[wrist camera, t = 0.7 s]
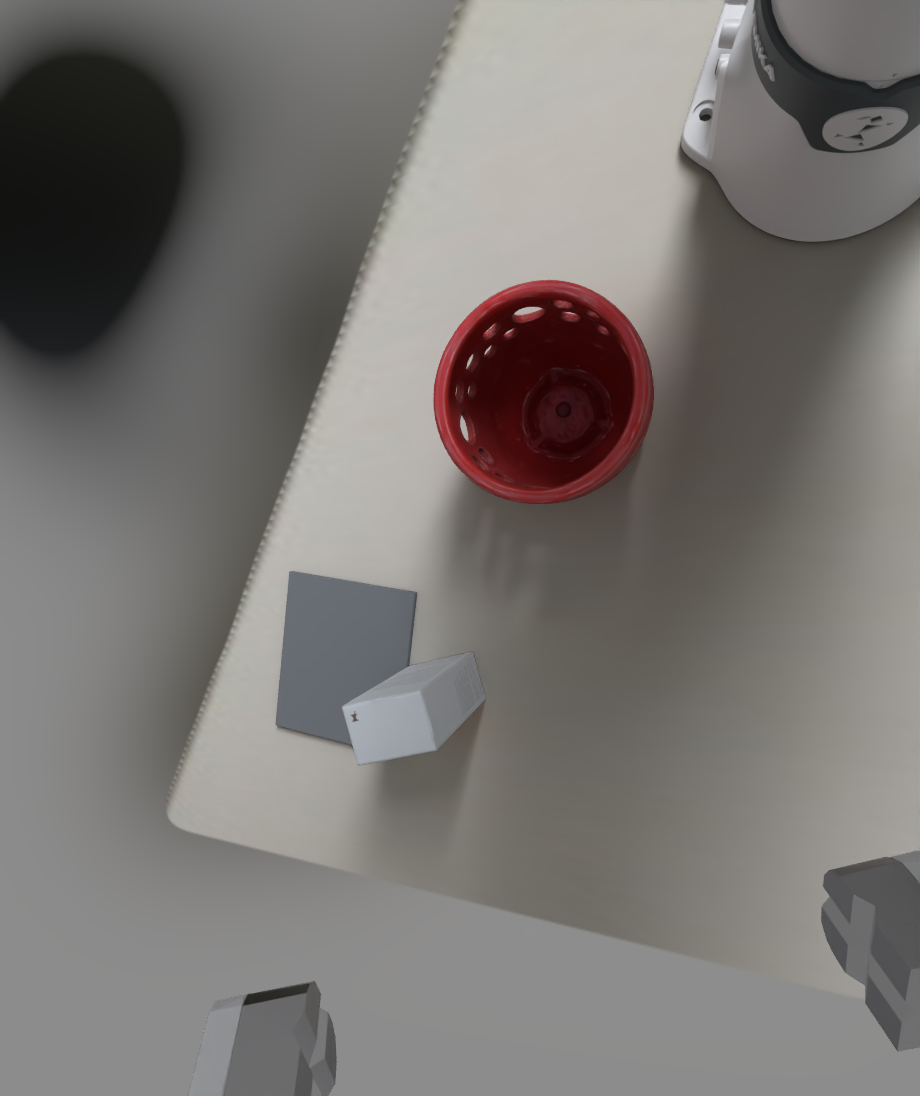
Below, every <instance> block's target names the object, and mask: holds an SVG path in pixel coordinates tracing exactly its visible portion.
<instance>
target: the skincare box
mask: <svg viewBox="0 0 920 1096" xmlns="http://www.w3.org/2000/svg"><path fill="white" fill-rule="evenodd" d="M484 701H485V694H484V691H483V688H482V684H481V680H480V677H479V673H478V669H477V665H476V662H475V658H474V654H473V652H468V653H464V654H460V655H455V656H451V657H447V658H442V659H438V660H433V661H429V662H425V663H420V664H416V665H412V666H408V667H407V668H405V669H403V670H402V671H400V672H398V673H397V674H395V675H393V676H392V677H390V678H388V679H387V680H385V681H383V682H382V683H380V684H378V685H377V686H375V687H373V688H371V689H370V690H368V691H367V692H365V693H363V694H362V695H360V696H358V697H356V698H354V699H353V700H351V701H350V702H348V703H347V704H345V705H343V706H342V710H343V713H344V717H345V720H346V724H347V727H348V731H349V734H350V738H351V742H352V746H353V750H354V753H355V757H356V760H357V763H358V765H366V764H371V763H377V762H383V761H388V760H393V759H397V758H402V757H407V756H412V755H417V754H423V753H428V752H433V751H437V750H438V749H439V748H440V747H441V746H442V745H443V743H444V742H445V741H446V740H447V739H448V738H449V737H450V736H451V735H452V734H453V733H454V732H455V731H456V730H457V729H458V728H459V727H460V726H461V725H462V724H463V723H464V722H465V721H466V720H467V719H468V718H469V717H470V716H471V715H472V714H473V712H474V711H475V710H476V709H477V708H478V707H479V706H480V705H481V704H482V703H483V702H484Z"/></svg>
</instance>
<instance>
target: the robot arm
mask: <svg viewBox="0 0 920 1096" xmlns="http://www.w3.org/2000/svg"><path fill="white" fill-rule="evenodd" d="M705 114H708V115H710V116H711V118H710V119H709V120H708V121H701V120H700V117H701V116H703V115H705ZM681 146H682V149H683V151H684V152H685V153H686V154H687V155H688V156H689V157H690V158H691V159H692V160H694V161H695V162H696V163H698V164H699V165H701V166H702V167H704V168H706V169H707V170H709V171H710V172H711V173H712V174H713V175H714V176H715V178H716V179H717V181H718V183H719V184H720V186H721V188H722V190H723V192H724V194H725V195H726V197H727V199H728V200H729V202H730V203H731V204H732V206H733V207H734V208H735V209H736V210H737V212H738V213H739V214H740V215H741V216H743V217H744V218H745V219H746V220H747V221H749V222H750V223H751V224H753V225H754V226H756V227H758V228H759V229H761V230H763V231H765V232H768V233H770V234H772V235H775V236H778V237H782V238H786V239H790V240H796V241H808V242H818V241H830V240H837V239H842V238H846V237H850V236H854V235H857V234H860V233H863V232H865V231H868V230H870V229H873V228H875V227H877V226H879V225H881V224H883V223H885V222H887V221H888V220H890V219H892V218H893V217H895V216H896V215H898V214H899V213H901V212H902V211H904V210H905V209H906V208H908V207H909V206H910V205H911V204H913V203H914V202H915V201H916V200H917V199H918V198H919V197H920V0H724V6H723V9H722V12H721V15H720V19H719V22H718V25H717V28H716V31H715V34H714V37H713V40H712V43H711V46H710V49H709V52H708V55H707V58H706V61H705V64H704V67H703V70H702V73H701V76H700V79H699V82H698V85H697V88H696V91H695V94H694V97H693V100H692V103H691V106H690V109H689V112H688V115H687V118H686V121H685V124H684V128H683V132H682V137H681ZM823 887H824V889H825V890H826V891H827V893H828V894H829V896H830V897H829V898H828V899H827V901H826V902H825V903H824V904H823V905H822V915H821V922H822V925H823V929H824V932H825V936H826V939H827V942H828V944H829V946H830V948H831V950H832V952H833V954H834V956H835V957H836V959H837V960H838V962H839V964H840V965H841V967H842V968H843V970H844V971H845V973H847V974H848V975H850V976H851V977H853V978H854V979H856V980H857V981H859V982H860V983H862V984H864V985H865V1002H866V1005H867V1006H868V1008H869V1009H870V1011H871V1012H872V1014H873V1015H874V1017H875V1018H876V1020H877V1021H878V1023H879V1024H880V1026H881V1027H882V1029H883V1030H884V1032H885V1033H886V1035H887V1036H888V1038H889V1039H890V1041H891V1042H892V1044H893V1045H894V1047H895V1048H896V1050H897V1051H902V1050H907V1049H913V1048H918V1047H920V851H914V852H910V853H905V854H901V855H897V856H893V857H883V858H879V859H875V860H870V861H866V862H862V863H857V864H853V865H849V866H845V867H840V868H836V869H832V870H829V871H828V872H827V873H826V874H825V875H824V883H823ZM320 999H321V993H320V991H319V989H318V987H317V984H316V982H315V981H312V982H307V983H302V984H297V985H292V986H287V987H282V988H277V989H272V990H267V991H262V992H257V993H252V994H245V995H240V996H235V997H231V998H226V999H222V1000H217V1001H215V1003H214V1005H213V1006H212V1008H211V1010H210V1012H209V1014H208V1017H207V1021H206V1025H205V1028H204V1032H203V1037H202V1041H201V1044H200V1048H199V1052H198V1056H197V1060H196V1064H195V1068H194V1072H193V1076H192V1080H191V1084H190V1088H189V1092H188V1096H328V1095H329V1093H330V1092H331V1090H332V1088H333V1086H334V1085H335V1078H336V1043H335V1042H336V1041H335V1034H334V1029H333V1023H332V1021H331V1018H330V1015H329V1013H328V1012H327V1011H325V1010H323V1009H321V1008H320Z"/></svg>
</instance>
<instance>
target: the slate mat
mask: <svg viewBox="0 0 920 1096" xmlns="http://www.w3.org/2000/svg"><path fill="white" fill-rule="evenodd" d="M416 598H417V592H412V591H406V590H400V589H394V588H388V587H382V586H376V585H370V584H365V583H359V582H353V581H347V580H341V579H335V578H329V577H323V576H317V575H312V574H306V573H300V572H294V571H291V572H289V583H288V594H287V605H286V616H285V627H284V638H283V649H282V660H281V671H280V682H279V693H278V704H277V715H276V725H277V726H281V727H285V728H289V729H293V730H297V731H301V732H304V733H308V734H312V735H316V736H320V737H324V738H328V739H332V740H335V741H339V742H343V743H347V744H351V745H352V742H351V738H350V734H349V731H348V727H347V724H346V720H345V717H344V713H343V710H342V706H343V705H345V704H347V703H348V702H350V701H351V700H353V699H354V698H356V697H358V696H360V695H362V694H363V693H365V692H367V691H368V690H370V689H371V688H373V687H375V686H377V685H378V684H380V683H382V682H383V681H385V680H387V679H388V678H390V677H392V676H393V675H395V674H397V673H398V672H400V671H402V670H403V669H405V668H407V667H408V666H409V662H410V652H411V643H412V634H413V625H414V616H415V607H416Z"/></svg>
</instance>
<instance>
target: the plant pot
mask: <svg viewBox="0 0 920 1096" xmlns="http://www.w3.org/2000/svg"><path fill="white" fill-rule="evenodd" d="M525 307H540V308H543V309H541V310H538V311H536V312H533V313H529V314H524V315H514V313H515V312H516V311H518V310H519V309H522V308H525ZM565 312H572V313H575V314H568V313H565ZM492 325H493V327H492V328H491V329H489V328H490V327H491V326H492ZM513 328H514V329H513ZM488 329H489V330H488ZM511 329H513V330H512V331H511V332H509V333H507V334H505V333H506V332H507V331H509V330H511ZM487 330H488V331H487ZM486 331H487V332H486ZM485 332H486V333H485ZM504 334H505V335H504ZM490 346H491V348H490V350H489V351H488V352H487V353H486V354H485V355H484V353H485V351H486V350H487V349H488V348H489V347H490ZM472 354H473V358H472V361H471V363H470V365H469V366H468V368H467V369H466V367H467V363H468V360H469V358H470V356H471V355H472ZM469 386H470V388H469ZM456 387H457V392H456ZM468 388H469V393H468ZM653 401H654V386H653V377H652V370H651V366H650V361H649V358H648V355H647V352H646V349H645V347H644V345H643V342H642V340H641V338H640V336H639V335H638V333H637V331H636V330H635V328H634V327H633V325H632V324H631V322H630V321H629V320H628V319H627V317H626V316H625V315H624V314H623V313H622V312H621V311H620V310H619V309H618V308H617V307H616V306H615V305H613V304H612V303H611V302H610V301H608V300H607V299H606V298H604V297H603V296H601V295H599V294H598V293H596V292H594V291H592V290H590V289H588V288H585V287H583V286H580V285H577V284H574V283H570V282H565V281H558V280H540V281H532V282H527V283H522V284H518V285H515V286H512V287H509V288H507V289H505V290H503V291H501V292H499V293H497V294H495V295H493V296H492V297H490V298H488V299H487V300H486V301H484V302H483V303H482V304H480V305H479V306H478V307H477V308H475V309H474V310H473V311H472V312H471V313H470V314H469V315H468V316H467V317H466V319H465V320H464V321H463V322H462V323H461V324H460V326H459V327H458V328H457V330H456V331H455V333H454V334H453V336H452V338H451V339H450V341H449V343H448V345H447V347H446V349H445V351H444V353H443V355H442V358H441V361H440V364H439V367H438V370H437V374H436V379H435V384H434V413H435V420H436V424H437V428H438V432H439V435H440V437H441V440H442V442H443V445H444V447H445V449H446V450H447V452H448V454H449V456H450V457H451V459H452V460H453V462H454V463H455V464H456V466H457V467H458V468H459V469H460V470H461V471H462V472H463V473H464V474H465V475H466V476H467V477H468V478H469V479H470V480H471V481H472V482H474V483H475V484H476V485H478V486H479V487H481V488H482V489H484V490H486V491H487V492H489V493H491V494H493V495H496V496H498V497H501V498H504V499H507V500H511V501H515V502H521V503H531V504H549V503H558V502H564V501H569V500H572V499H575V498H578V497H581V496H584V495H586V494H589V493H591V492H593V491H595V490H597V489H598V488H600V487H601V486H603V485H604V484H606V483H607V482H609V481H610V480H611V479H612V478H614V477H615V476H616V475H617V474H619V473H620V472H621V470H622V469H623V468H624V467H625V466H626V465H627V464H628V463H629V462H630V460H631V459H632V458H633V457H634V455H635V454H636V452H637V450H638V449H639V447H640V445H641V443H642V441H643V439H644V437H645V435H646V432H647V430H648V427H649V423H650V420H651V416H652V410H653ZM461 415H462V416H463V418H464V420H465V423H466V426H467V430H468V438H469V440H468V441H467V440H466V439H465V438H464V436H463V434H462V431H461V428H460V418H461ZM481 455H482V456H483V458H484V459H485V460H486V461H485V460H484V459H483V458H482V456H481Z"/></svg>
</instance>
